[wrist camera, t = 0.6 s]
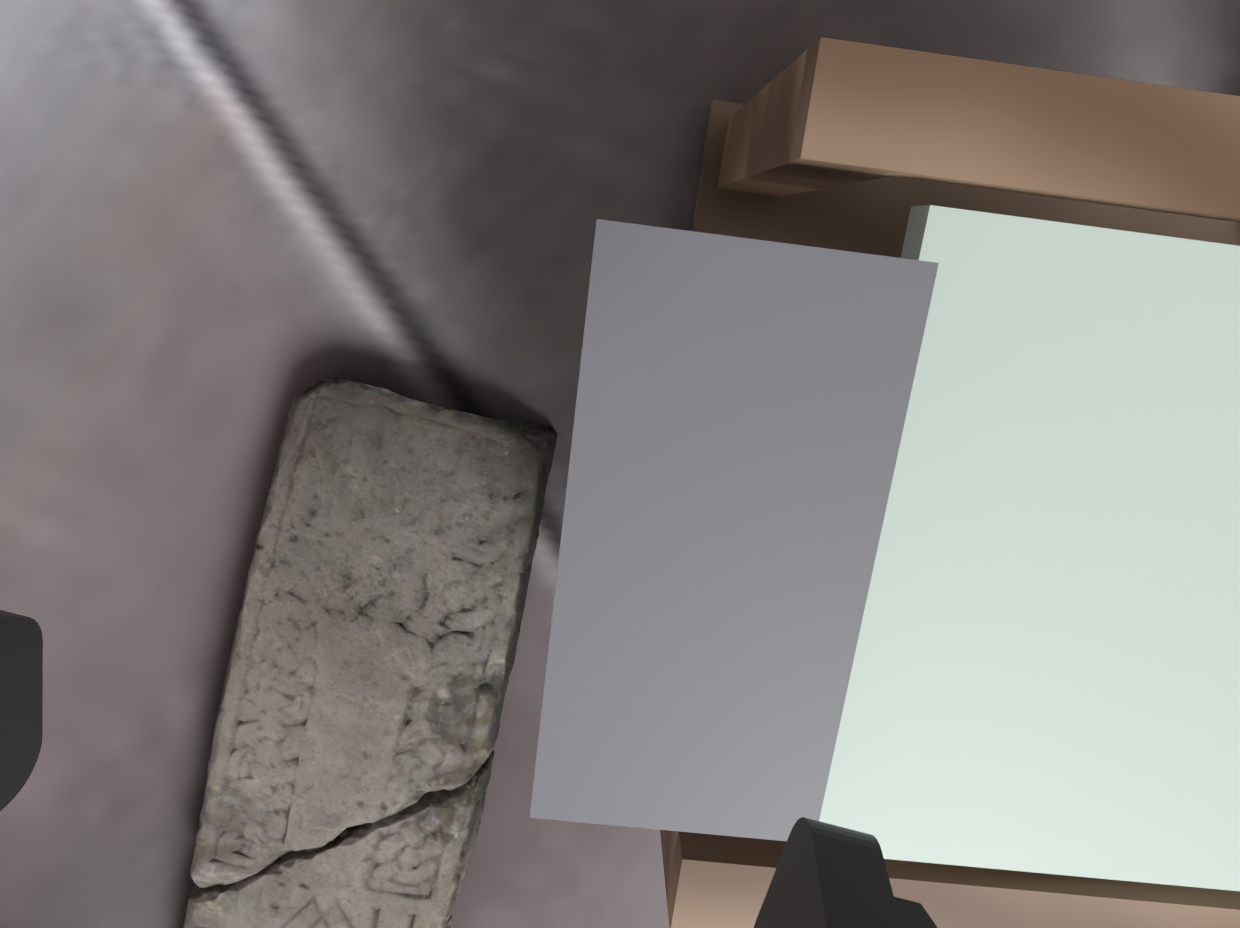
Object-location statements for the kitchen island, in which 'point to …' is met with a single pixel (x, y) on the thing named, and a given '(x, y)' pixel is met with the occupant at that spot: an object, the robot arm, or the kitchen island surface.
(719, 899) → the wooden rack
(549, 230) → the kitchen island surface
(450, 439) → the stone slab
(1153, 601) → the trapdoor plate
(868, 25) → the kitchen island surface
